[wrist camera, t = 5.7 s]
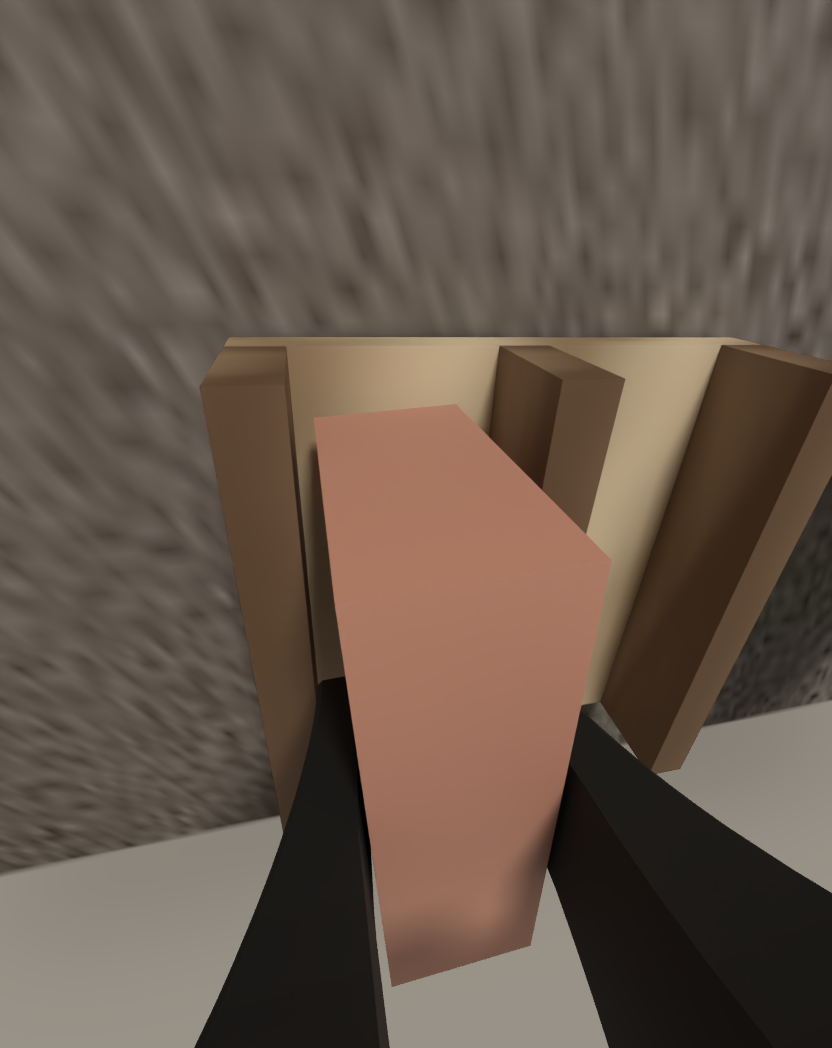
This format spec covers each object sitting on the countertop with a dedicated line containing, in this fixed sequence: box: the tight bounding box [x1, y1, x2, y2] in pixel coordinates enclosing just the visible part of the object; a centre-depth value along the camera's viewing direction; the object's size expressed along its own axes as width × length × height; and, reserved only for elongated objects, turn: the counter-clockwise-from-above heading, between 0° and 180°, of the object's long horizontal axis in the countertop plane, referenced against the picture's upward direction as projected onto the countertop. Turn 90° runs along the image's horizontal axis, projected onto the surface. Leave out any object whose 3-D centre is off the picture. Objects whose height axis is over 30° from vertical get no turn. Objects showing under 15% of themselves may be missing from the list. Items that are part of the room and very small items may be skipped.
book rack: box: [200, 337, 832, 833], centre depth 13 cm, size 13×13×4 cm
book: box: [314, 404, 612, 987], centre depth 10 cm, size 3×10×6 cm, turn 2°
